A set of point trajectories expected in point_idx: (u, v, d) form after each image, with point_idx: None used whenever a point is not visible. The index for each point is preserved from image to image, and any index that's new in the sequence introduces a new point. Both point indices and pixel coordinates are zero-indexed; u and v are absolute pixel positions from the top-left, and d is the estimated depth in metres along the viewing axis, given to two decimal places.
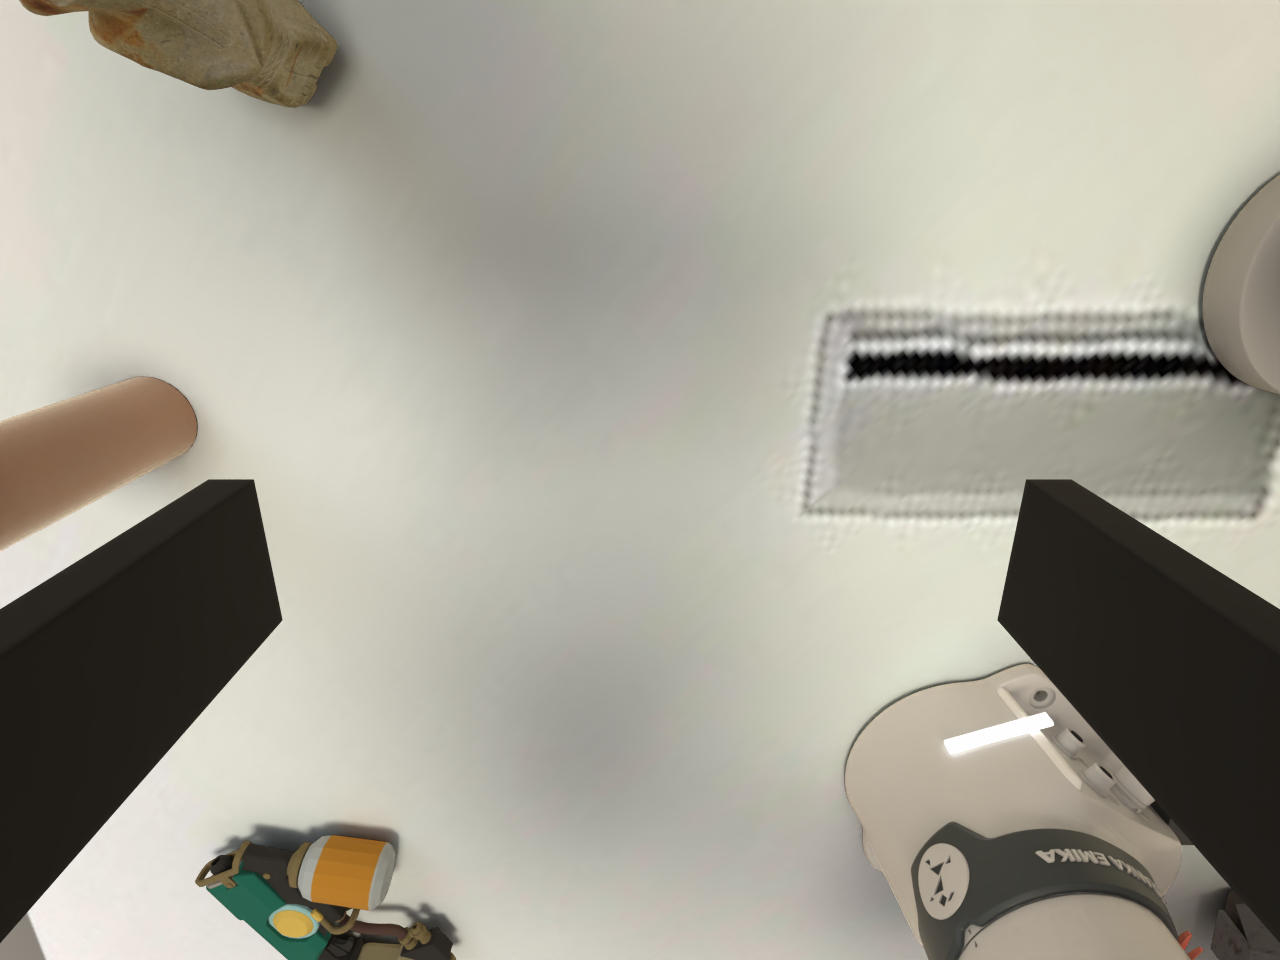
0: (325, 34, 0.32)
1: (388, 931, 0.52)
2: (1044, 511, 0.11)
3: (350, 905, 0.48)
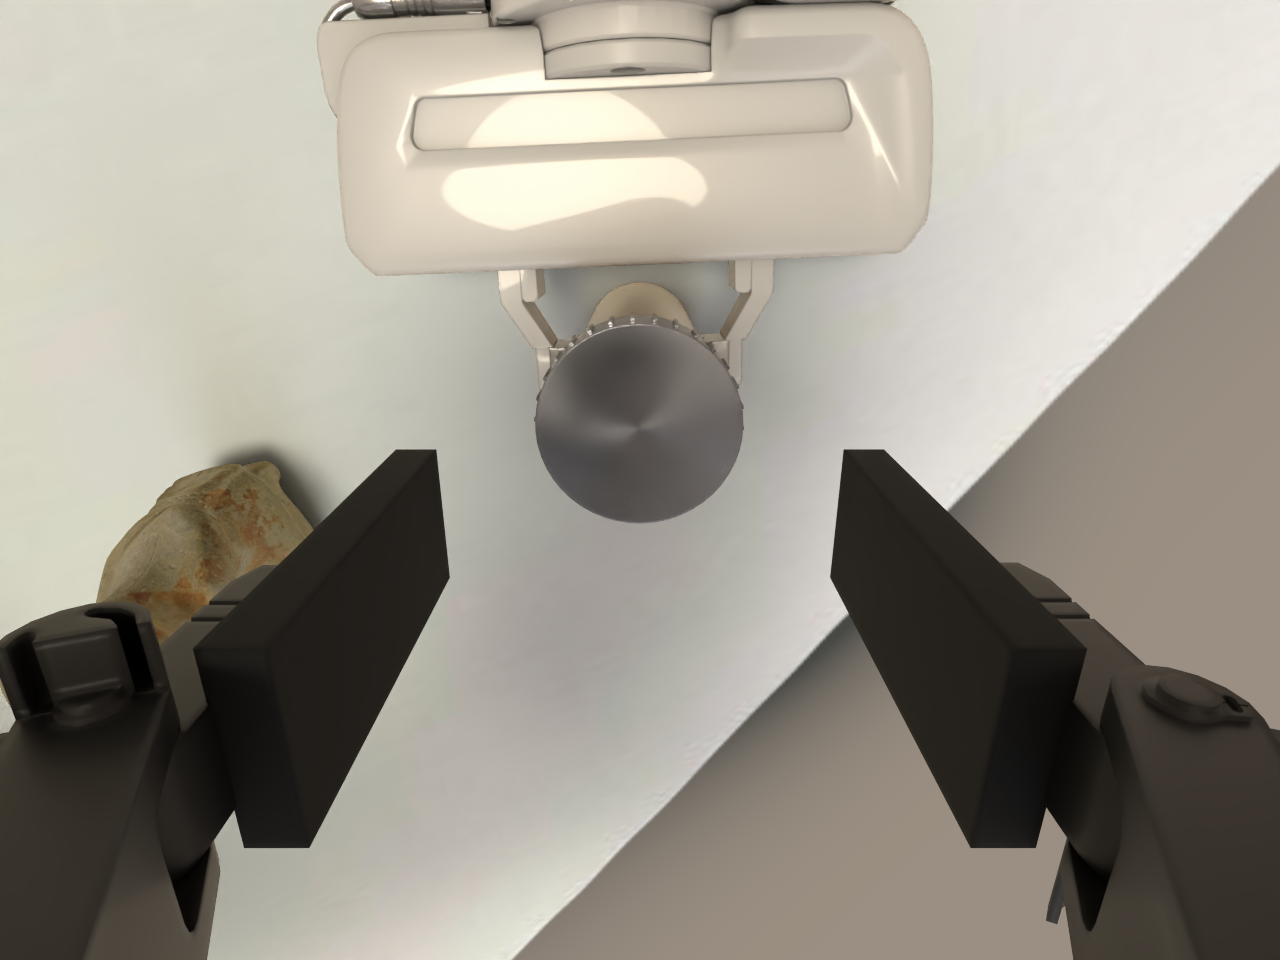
0: None
1: None
2: (851, 476, 0.13)
3: None
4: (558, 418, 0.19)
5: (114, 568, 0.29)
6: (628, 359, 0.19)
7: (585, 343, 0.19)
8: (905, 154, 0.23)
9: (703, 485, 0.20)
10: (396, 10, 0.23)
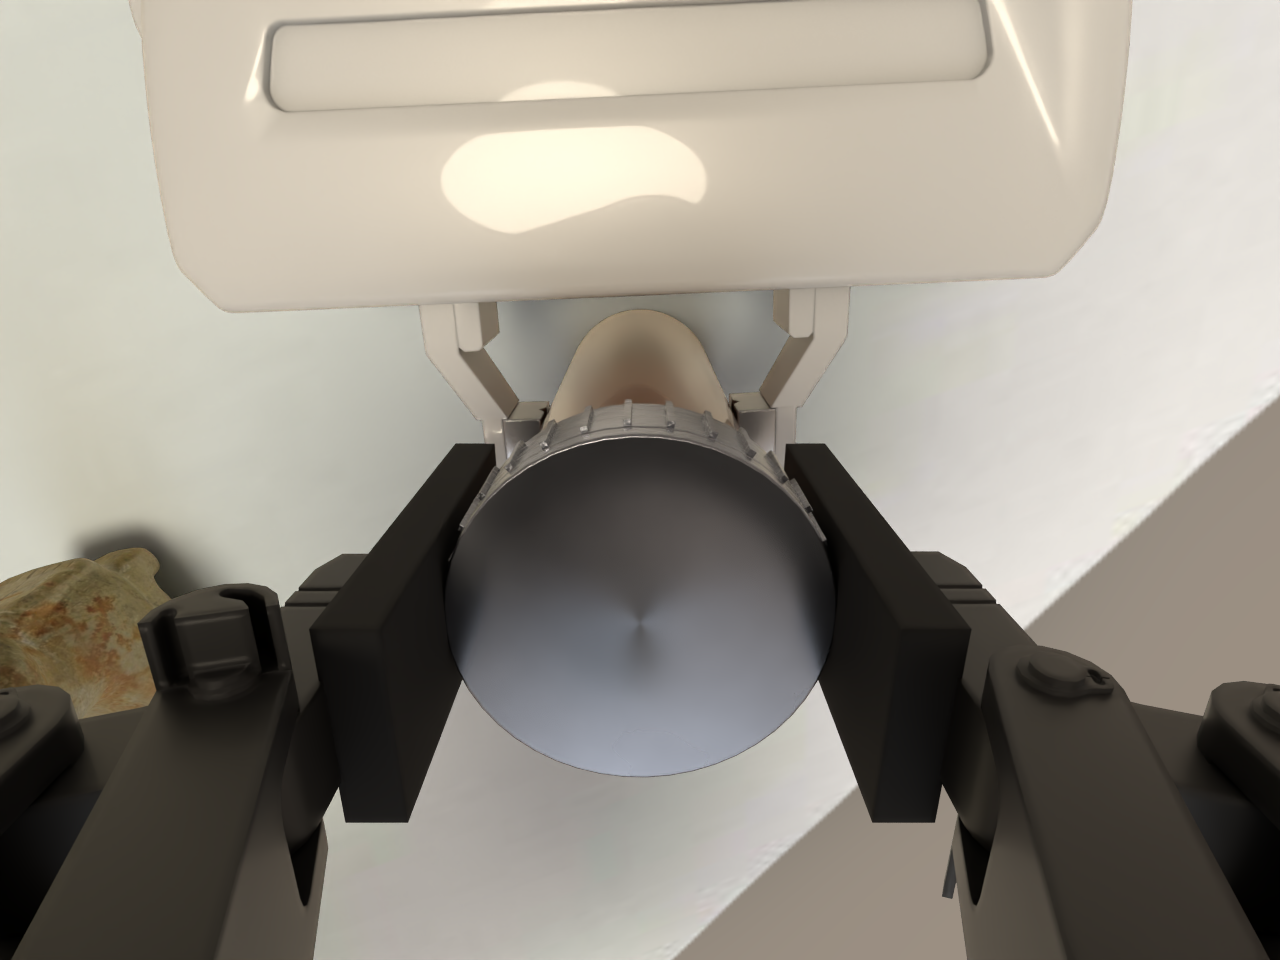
0: None
1: None
2: (791, 469, 0.13)
3: None
4: (486, 605, 0.10)
5: None
6: (619, 501, 0.10)
7: (534, 471, 0.09)
8: (1079, 117, 0.14)
9: (758, 717, 0.11)
10: None
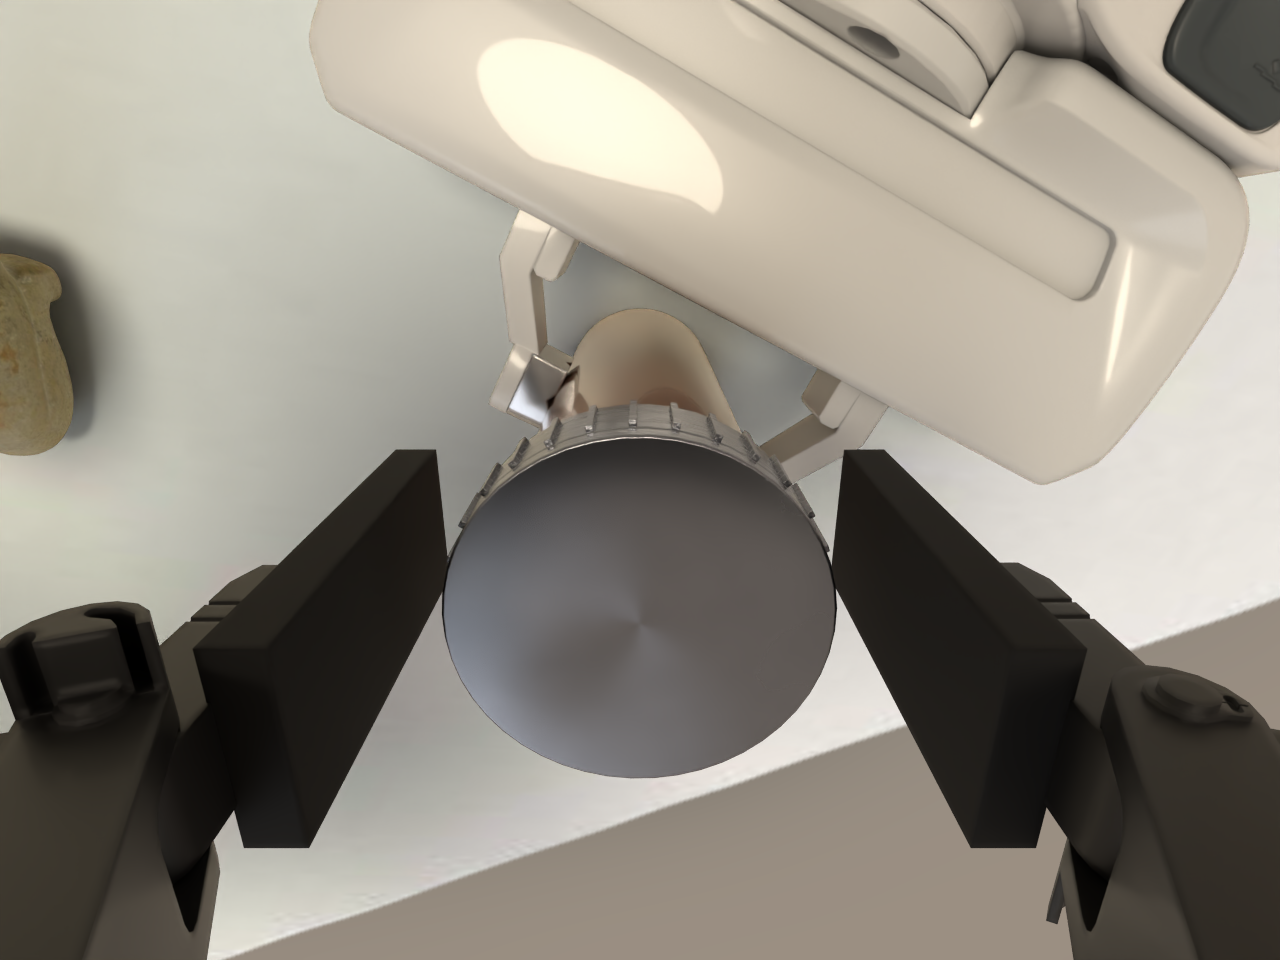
0: None
1: None
2: (852, 476, 0.13)
3: None
4: (573, 734, 0.11)
5: None
6: (506, 601, 0.10)
7: (458, 654, 0.10)
8: (1129, 376, 0.16)
9: (796, 552, 0.10)
10: None
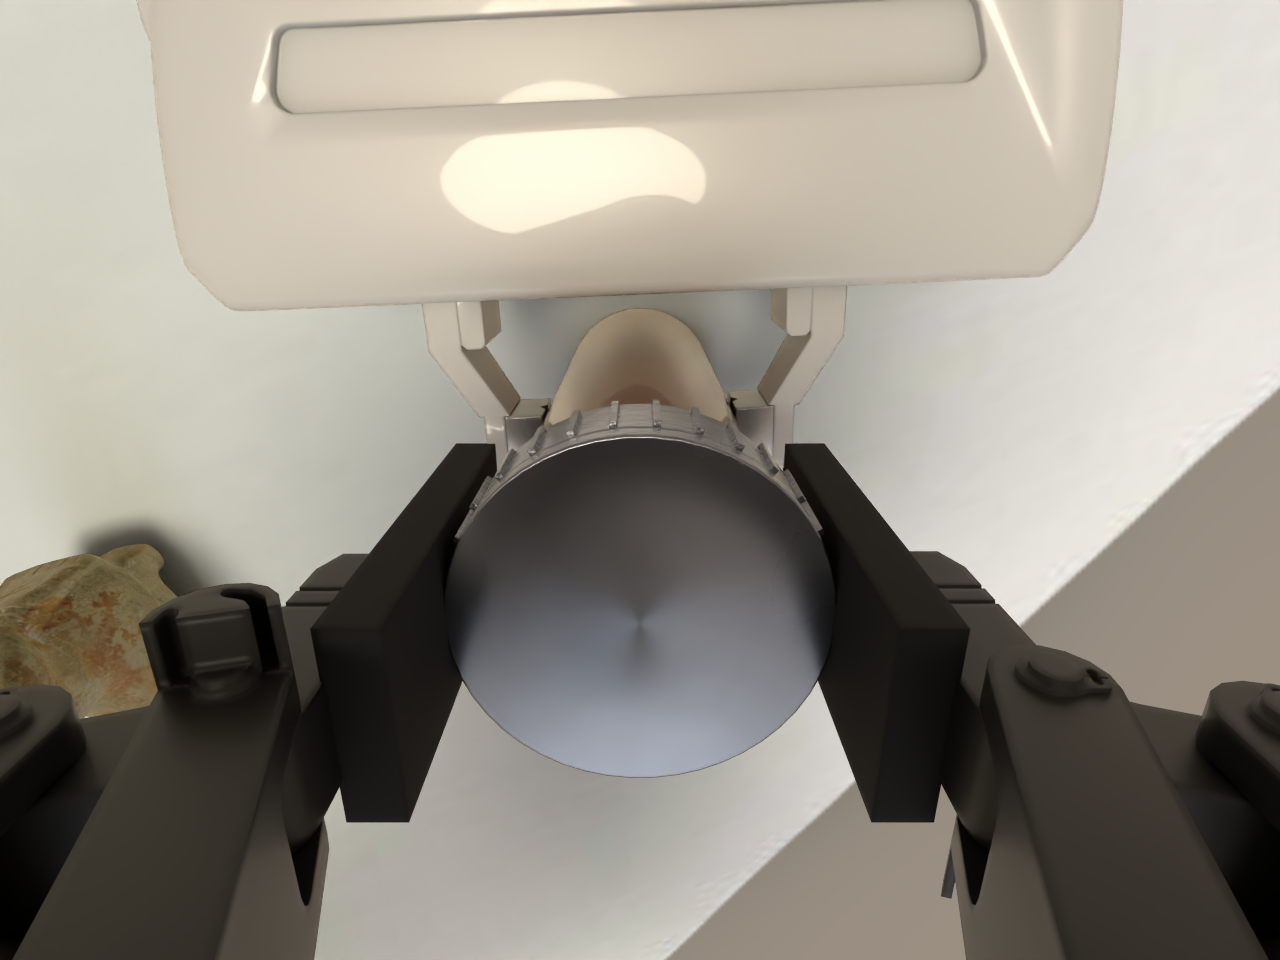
0: None
1: None
2: (790, 469, 0.13)
3: None
4: (645, 747, 0.11)
5: None
6: (516, 658, 0.10)
7: (507, 723, 0.11)
8: (1071, 119, 0.14)
9: (739, 490, 0.10)
10: None
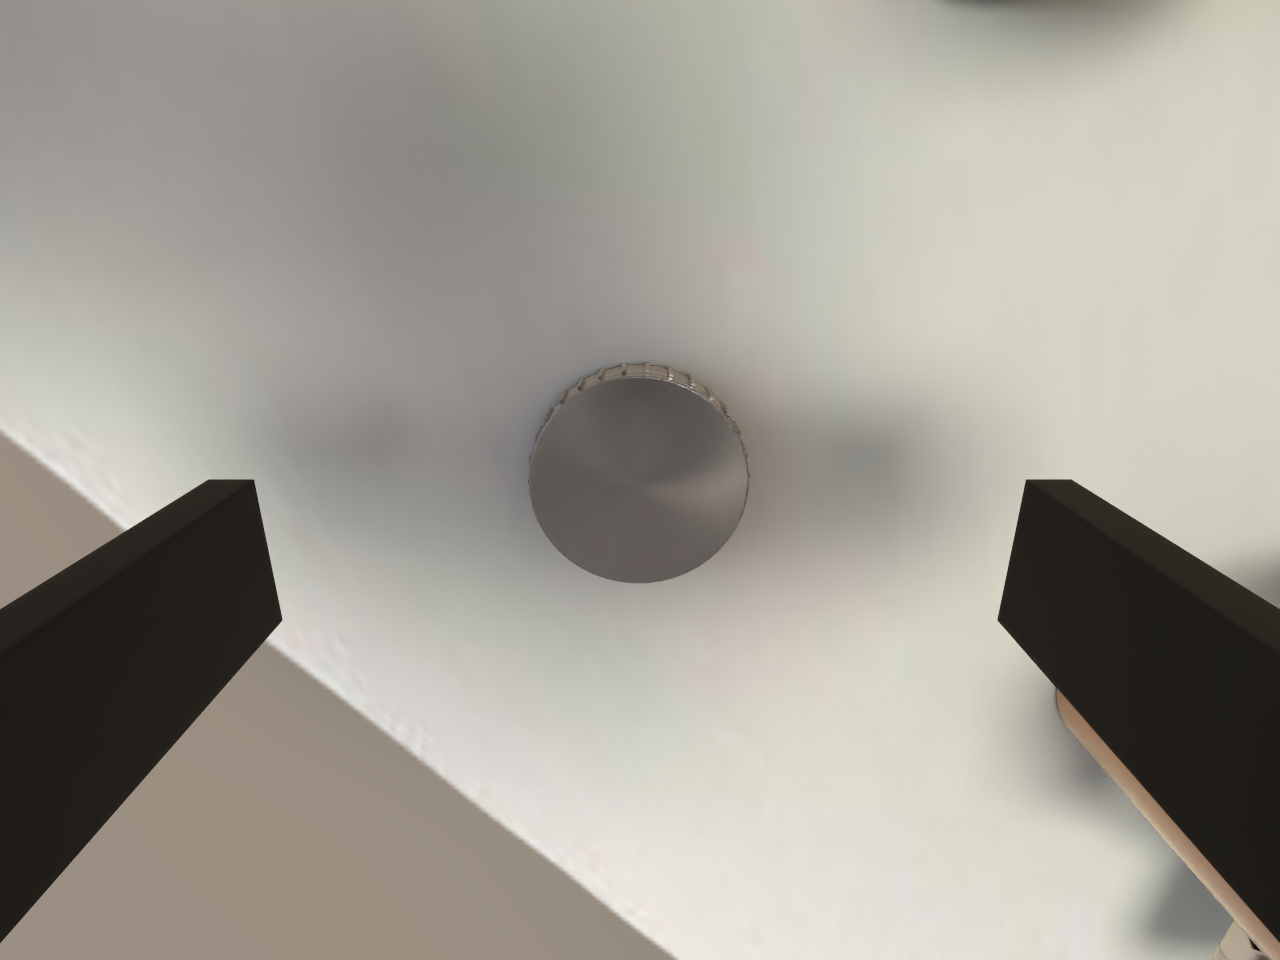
0: None
1: None
2: (1044, 511, 0.11)
3: None
4: (642, 562, 0.19)
5: None
6: (569, 507, 0.19)
7: (562, 547, 0.19)
8: None
9: (691, 406, 0.18)
10: None
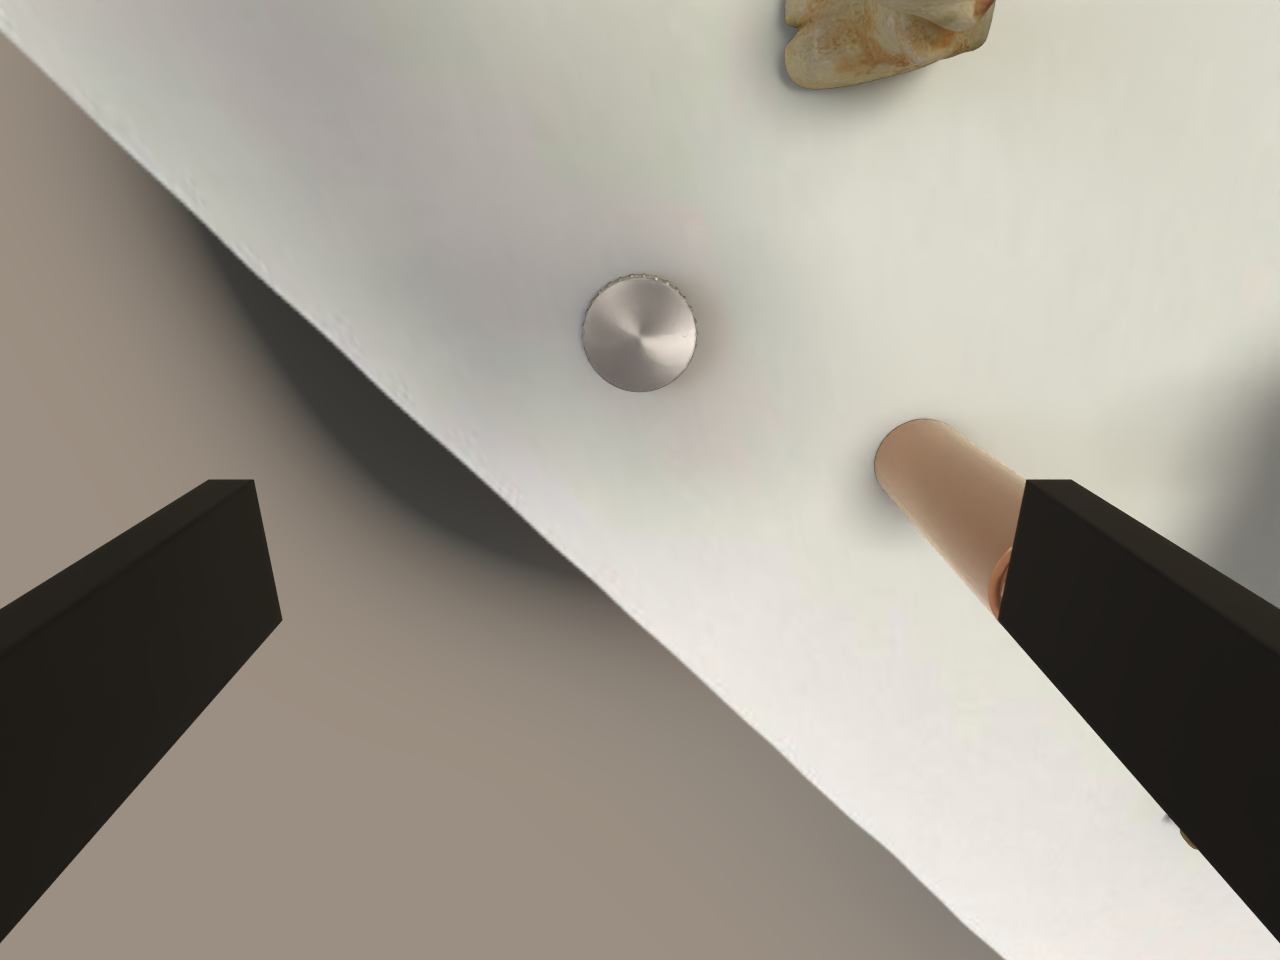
0: None
1: None
2: (1044, 511, 0.11)
3: None
4: (641, 380, 0.36)
5: None
6: (603, 348, 0.36)
7: (599, 371, 0.36)
8: None
9: (666, 294, 0.35)
10: None
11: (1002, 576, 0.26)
